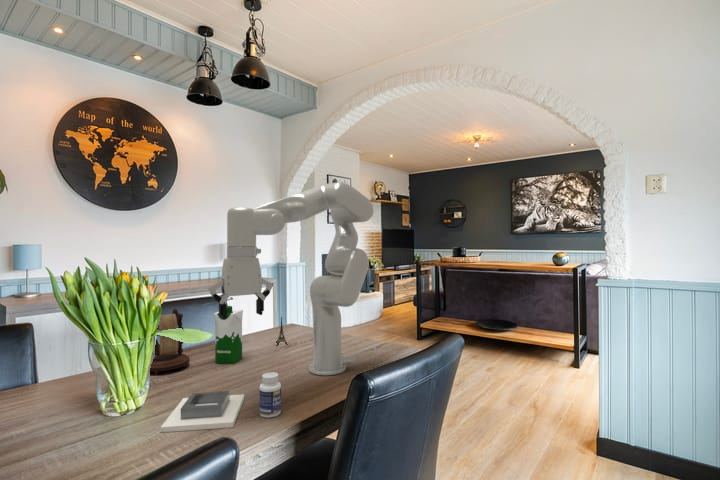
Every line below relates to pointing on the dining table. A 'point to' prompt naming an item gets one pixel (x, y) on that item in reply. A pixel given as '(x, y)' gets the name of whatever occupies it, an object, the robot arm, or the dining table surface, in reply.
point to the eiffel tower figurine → (280, 339)
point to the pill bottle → (270, 395)
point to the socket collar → (205, 410)
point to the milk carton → (228, 337)
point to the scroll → (169, 346)
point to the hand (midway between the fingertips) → (241, 316)
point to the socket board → (225, 421)
